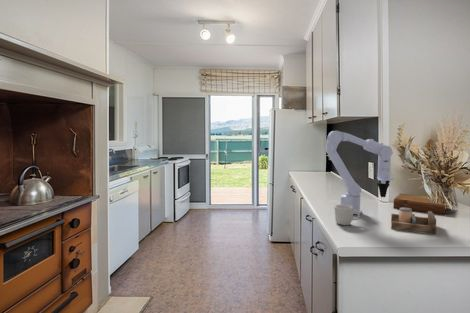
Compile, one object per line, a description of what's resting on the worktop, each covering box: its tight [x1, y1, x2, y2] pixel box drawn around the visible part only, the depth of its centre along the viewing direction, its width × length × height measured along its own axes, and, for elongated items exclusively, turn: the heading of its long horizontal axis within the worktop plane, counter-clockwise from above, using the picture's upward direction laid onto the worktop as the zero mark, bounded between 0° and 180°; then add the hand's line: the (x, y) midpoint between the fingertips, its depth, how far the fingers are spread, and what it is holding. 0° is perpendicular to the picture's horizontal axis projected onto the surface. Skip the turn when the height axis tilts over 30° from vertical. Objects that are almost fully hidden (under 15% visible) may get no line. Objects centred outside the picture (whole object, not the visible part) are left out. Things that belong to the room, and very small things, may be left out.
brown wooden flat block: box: [393, 193, 446, 216], centre depth 164 cm, size 23×19×6 cm
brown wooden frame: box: [390, 211, 437, 235], centre depth 132 cm, size 16×15×6 cm
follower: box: [412, 213, 416, 224], centre depth 131 cm, size 1×11×4 cm, turn 153°
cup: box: [334, 204, 361, 226], centre depth 136 cm, size 11×8×8 cm
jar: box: [398, 207, 413, 223], centre depth 133 cm, size 5×5×8 cm
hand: (383, 195), depth 153 cm, fingers open, 7 cm apart
